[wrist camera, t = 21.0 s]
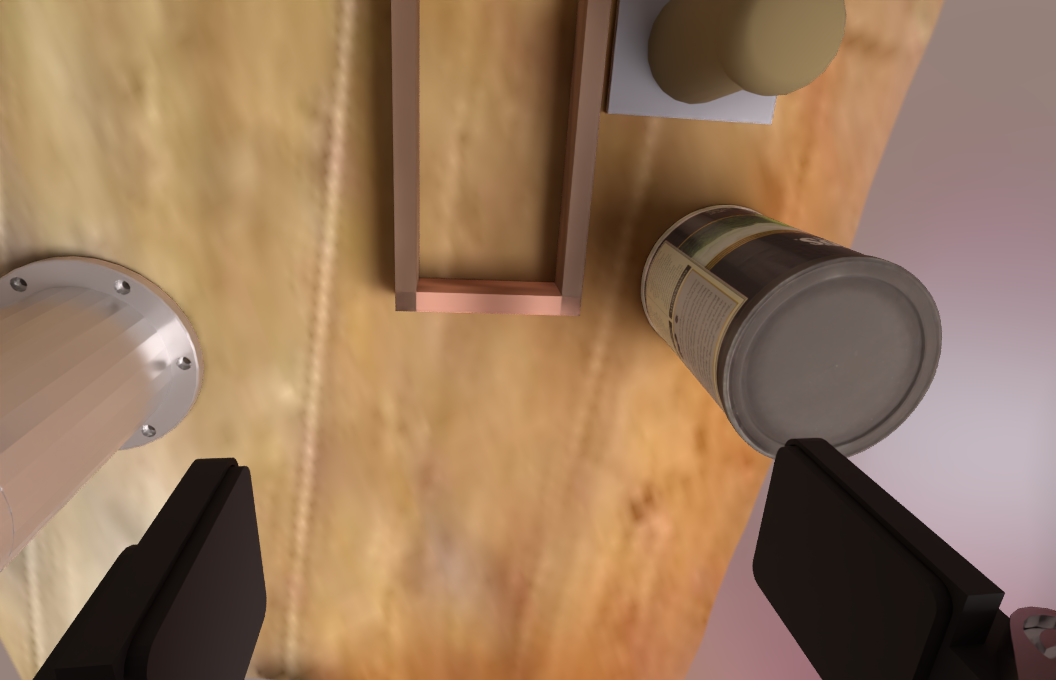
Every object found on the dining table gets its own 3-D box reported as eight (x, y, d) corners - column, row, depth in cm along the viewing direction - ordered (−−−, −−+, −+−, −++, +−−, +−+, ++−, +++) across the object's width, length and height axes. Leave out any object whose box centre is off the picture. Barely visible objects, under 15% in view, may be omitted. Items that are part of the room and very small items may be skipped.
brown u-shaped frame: (400, 295, 39) (395, 310, 36) (396, -37, 32) (390, -49, 29) (571, 300, 40) (579, 315, 37) (601, -17, 33) (614, -27, 31)
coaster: (605, 113, 36) (608, 113, 35) (626, -89, 32) (629, -92, 32) (766, 124, 37) (771, 124, 37) (804, -69, 34) (810, -72, 33)
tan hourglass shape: (675, 124, 36) (761, 135, 26) (629, 25, 34) (703, -6, 24) (767, 67, 35) (891, 55, 25) (726, -38, 33) (844, -98, 23)
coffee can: (713, 169, 38) (846, 207, 25) (819, 265, 41) (987, 344, 28) (606, 297, 40) (677, 394, 27) (714, 379, 43) (824, 501, 30)
